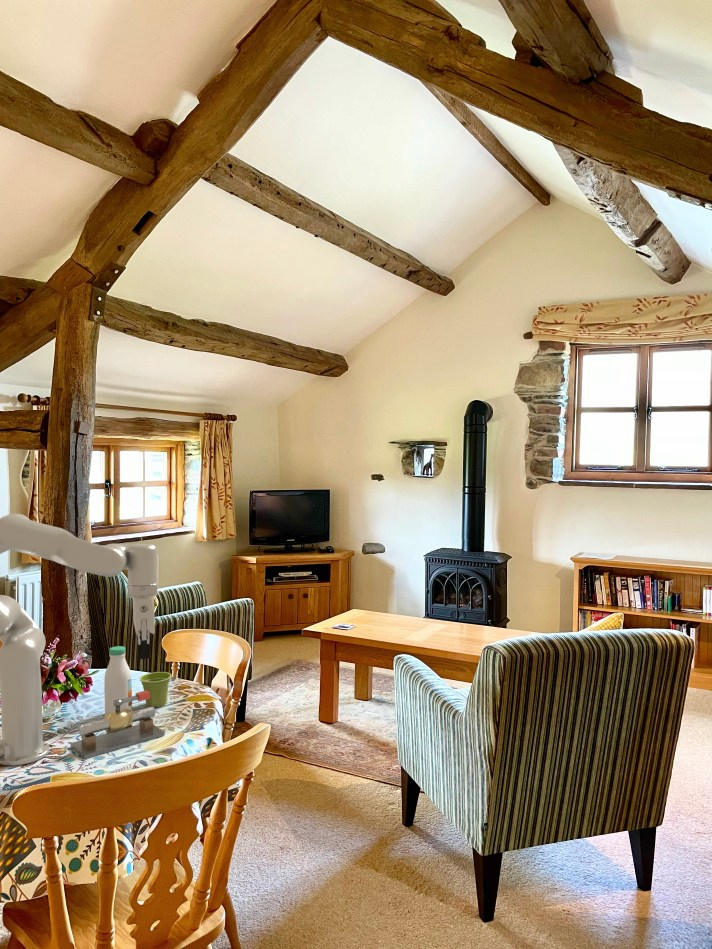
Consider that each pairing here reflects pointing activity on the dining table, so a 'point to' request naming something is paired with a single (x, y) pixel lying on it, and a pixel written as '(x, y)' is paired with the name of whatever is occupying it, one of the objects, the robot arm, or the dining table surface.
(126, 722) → the stand
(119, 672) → the milk bottle
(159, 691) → the plant pot
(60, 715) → the dining table surface
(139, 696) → the valve lever
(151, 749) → the dining table surface
